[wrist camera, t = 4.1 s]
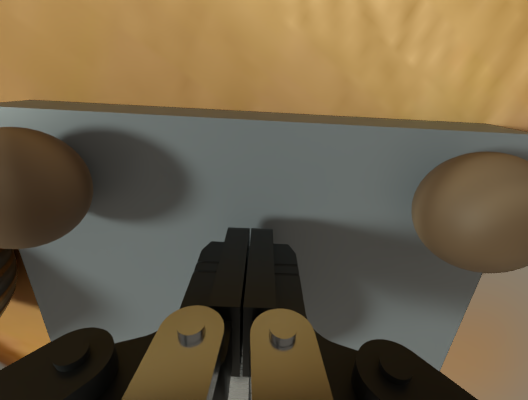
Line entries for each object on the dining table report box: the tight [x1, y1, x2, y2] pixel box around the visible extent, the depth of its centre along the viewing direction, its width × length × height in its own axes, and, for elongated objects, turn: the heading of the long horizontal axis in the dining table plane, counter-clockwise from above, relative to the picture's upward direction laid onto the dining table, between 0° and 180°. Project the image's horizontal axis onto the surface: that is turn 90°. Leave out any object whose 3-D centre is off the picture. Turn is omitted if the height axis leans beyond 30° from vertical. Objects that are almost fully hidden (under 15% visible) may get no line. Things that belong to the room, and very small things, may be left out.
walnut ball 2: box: [411, 152, 528, 273], centre depth 8 cm, size 3×3×3 cm
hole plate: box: [0, 100, 528, 371], centre depth 13 cm, size 18×18×2 cm
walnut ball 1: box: [0, 127, 93, 249], centre depth 8 cm, size 3×3×3 cm
